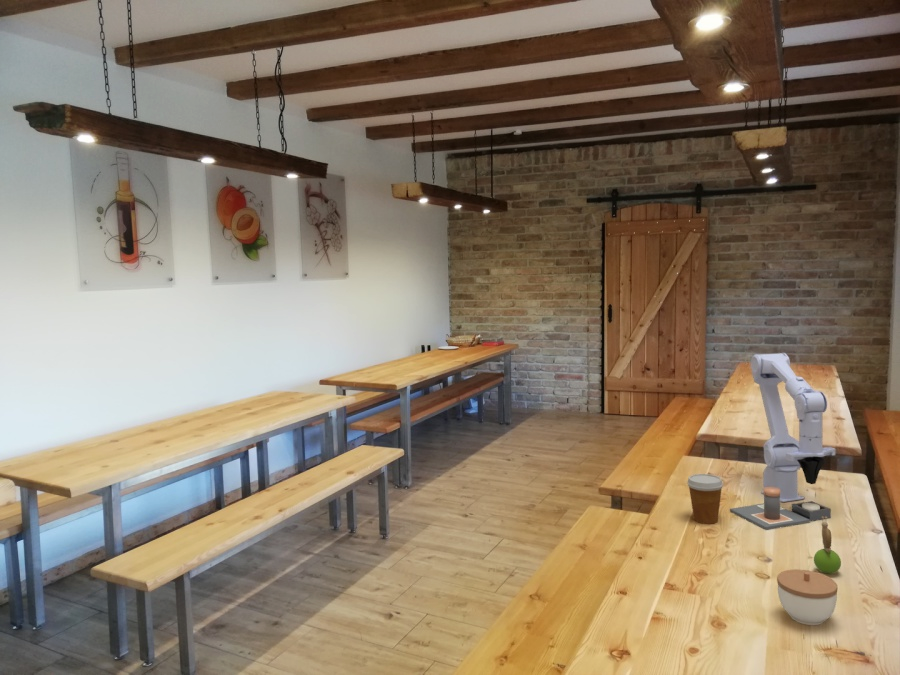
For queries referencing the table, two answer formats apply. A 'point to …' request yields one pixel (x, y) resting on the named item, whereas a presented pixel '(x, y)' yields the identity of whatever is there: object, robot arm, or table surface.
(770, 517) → the grey canister
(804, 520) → the picture board
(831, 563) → the green tan bulb piece
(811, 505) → the button
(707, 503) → the disposable coffee cup
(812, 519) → the button housing
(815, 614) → the lidded jar
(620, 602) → the table surface
